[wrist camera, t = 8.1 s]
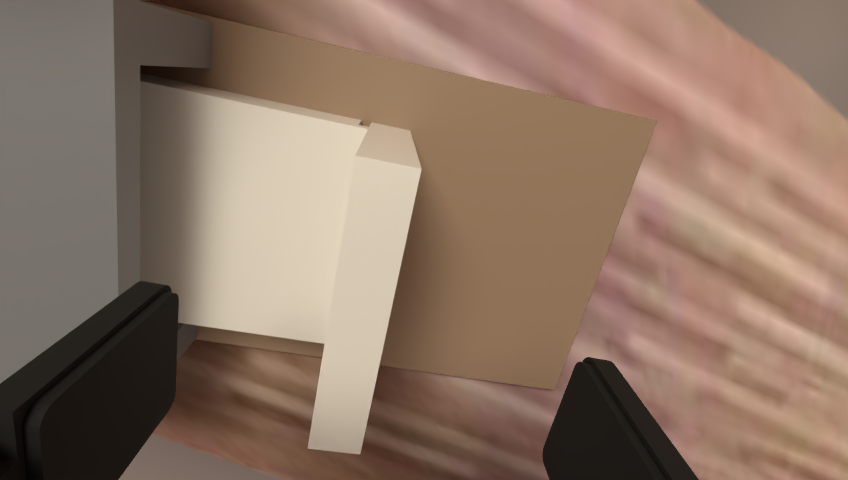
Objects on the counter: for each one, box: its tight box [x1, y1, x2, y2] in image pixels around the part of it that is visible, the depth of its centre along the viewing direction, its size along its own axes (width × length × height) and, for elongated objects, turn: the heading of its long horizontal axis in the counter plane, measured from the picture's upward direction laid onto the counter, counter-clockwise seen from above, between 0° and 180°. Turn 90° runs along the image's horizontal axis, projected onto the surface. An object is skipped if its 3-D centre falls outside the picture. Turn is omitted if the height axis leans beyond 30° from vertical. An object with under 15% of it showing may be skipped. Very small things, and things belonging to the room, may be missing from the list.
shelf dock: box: [0, 0, 657, 390], centre depth 17 cm, size 26×14×7 cm, turn 78°
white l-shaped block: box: [140, 73, 421, 454], centre depth 15 cm, size 14×9×8 cm, turn 78°
